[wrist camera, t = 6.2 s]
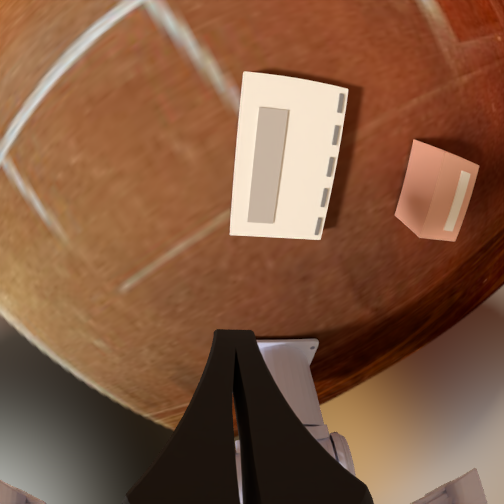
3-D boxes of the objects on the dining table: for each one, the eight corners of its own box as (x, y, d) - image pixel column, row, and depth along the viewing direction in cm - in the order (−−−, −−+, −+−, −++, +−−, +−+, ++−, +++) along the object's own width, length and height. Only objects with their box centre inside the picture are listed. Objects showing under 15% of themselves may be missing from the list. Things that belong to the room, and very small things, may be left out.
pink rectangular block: (430, 220, 19) (455, 242, 16) (394, 215, 19) (420, 238, 16) (449, 152, 16) (480, 166, 13) (413, 139, 16) (445, 151, 13)
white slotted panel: (316, 232, 19) (321, 240, 18) (229, 227, 18) (229, 236, 17) (342, 89, 14) (349, 89, 13) (243, 73, 13) (244, 71, 12)
